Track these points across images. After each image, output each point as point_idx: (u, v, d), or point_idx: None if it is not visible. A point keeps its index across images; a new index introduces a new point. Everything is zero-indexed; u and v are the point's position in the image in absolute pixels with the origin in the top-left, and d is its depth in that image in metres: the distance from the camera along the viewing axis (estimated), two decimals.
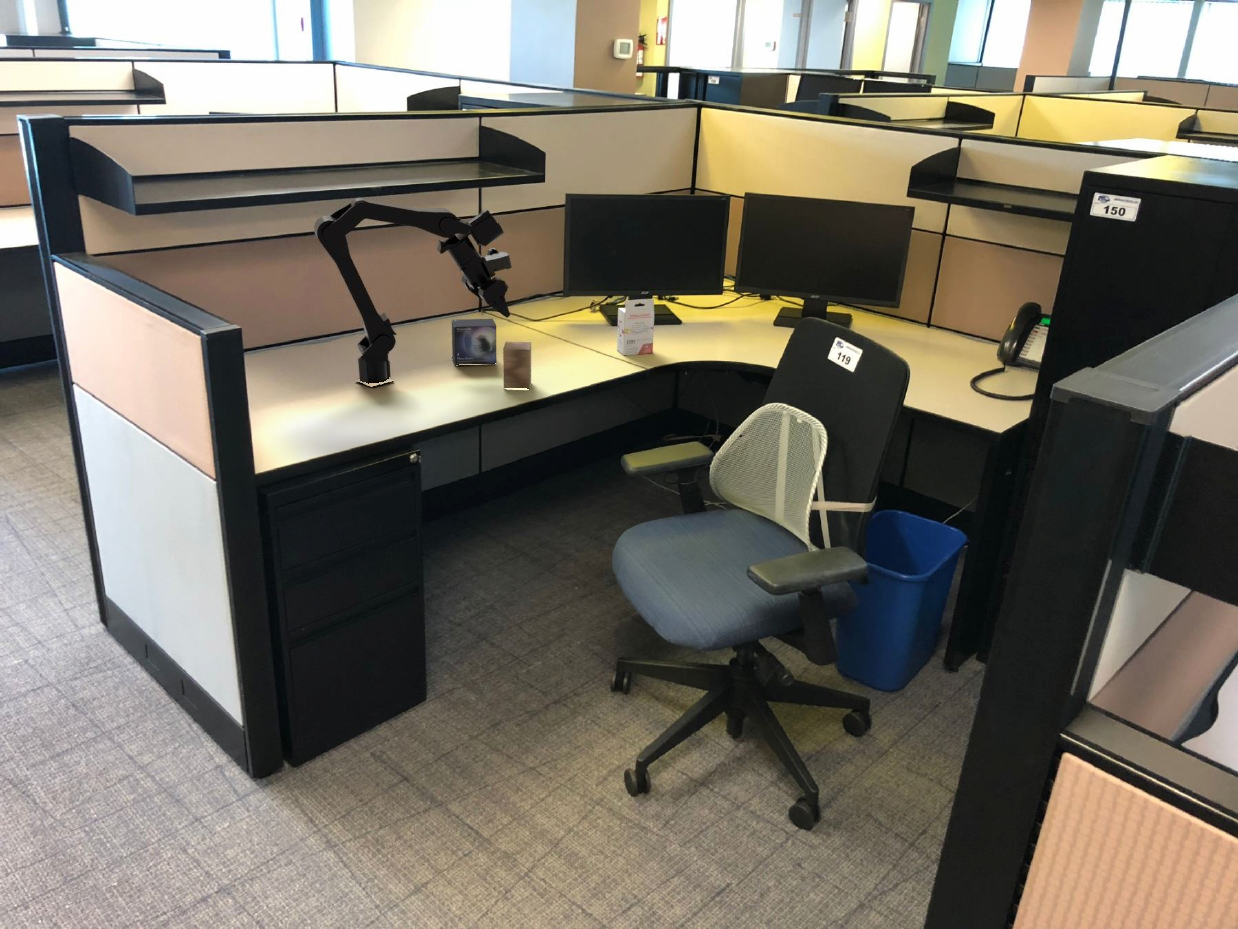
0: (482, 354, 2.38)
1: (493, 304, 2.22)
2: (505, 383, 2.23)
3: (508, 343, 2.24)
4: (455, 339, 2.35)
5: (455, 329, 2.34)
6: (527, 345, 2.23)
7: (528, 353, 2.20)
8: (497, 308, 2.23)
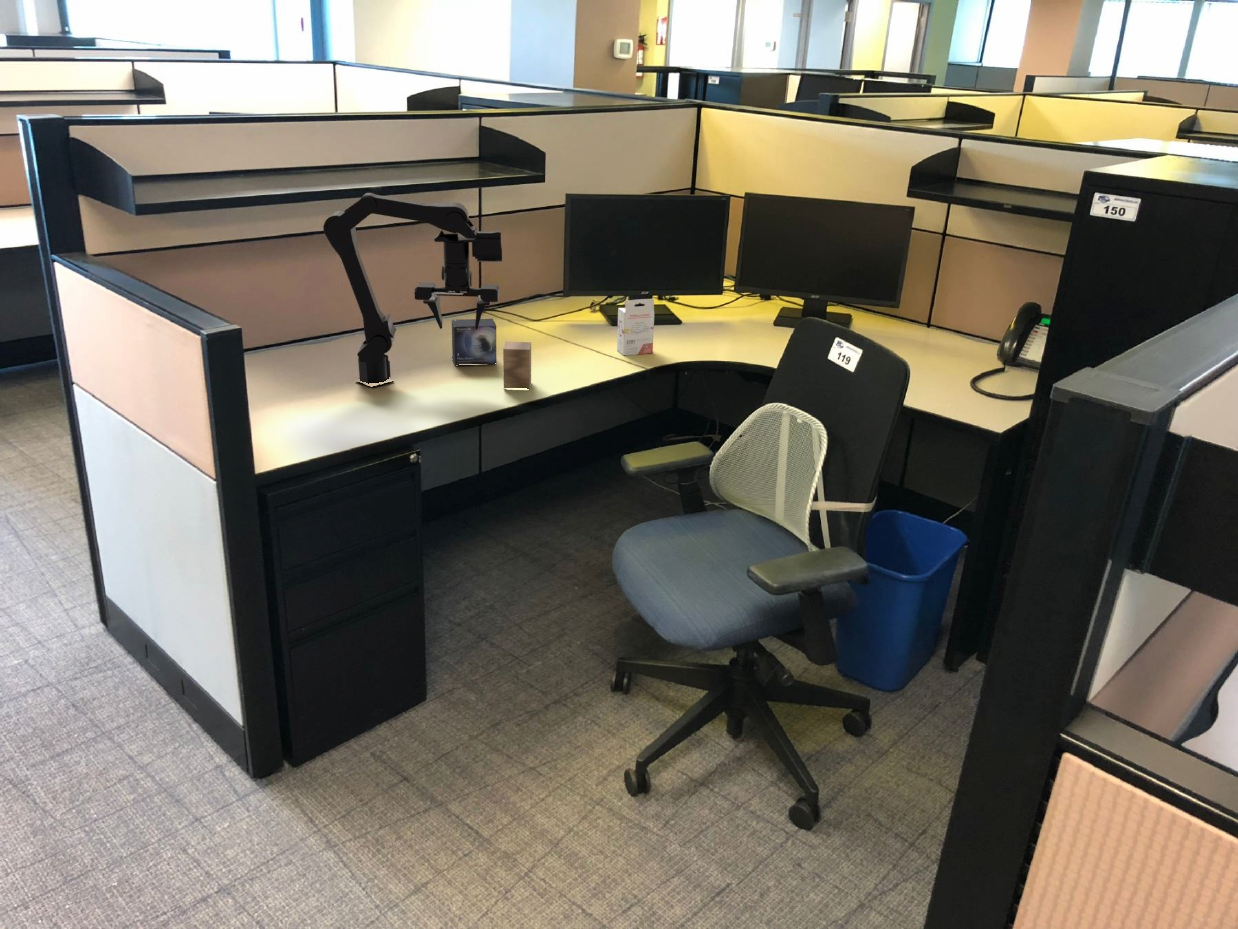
0: (482, 354, 2.38)
1: None
2: (505, 383, 2.23)
3: (508, 343, 2.24)
4: (455, 339, 2.35)
5: (455, 329, 2.34)
6: (527, 345, 2.23)
7: (528, 353, 2.20)
8: (481, 315, 2.20)
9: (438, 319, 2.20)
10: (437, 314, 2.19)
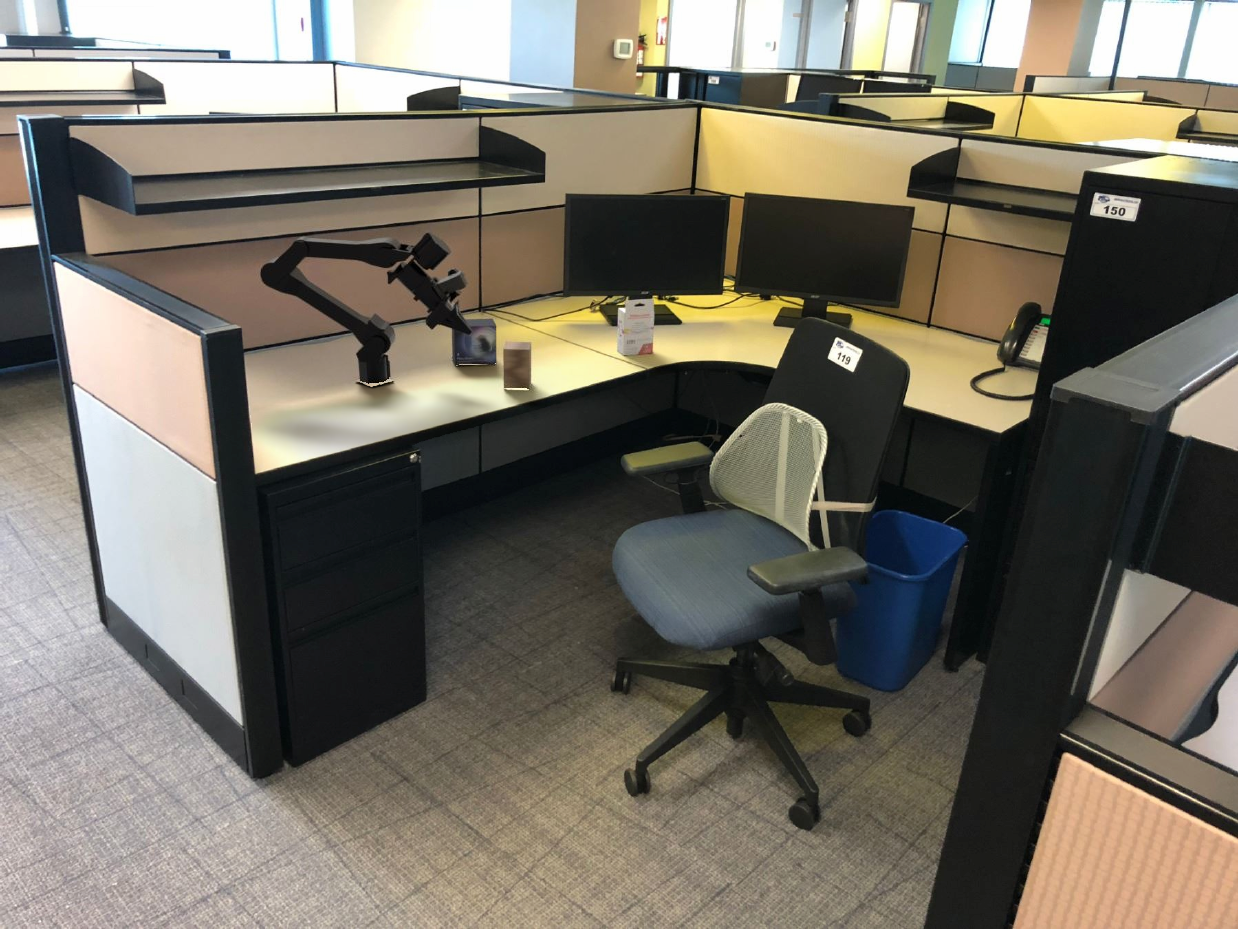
0: (482, 354, 2.38)
1: (447, 324, 2.18)
2: (505, 383, 2.23)
3: (508, 343, 2.24)
4: (455, 339, 2.35)
5: None
6: (527, 345, 2.23)
7: (528, 353, 2.20)
8: (453, 327, 2.19)
9: None
10: None
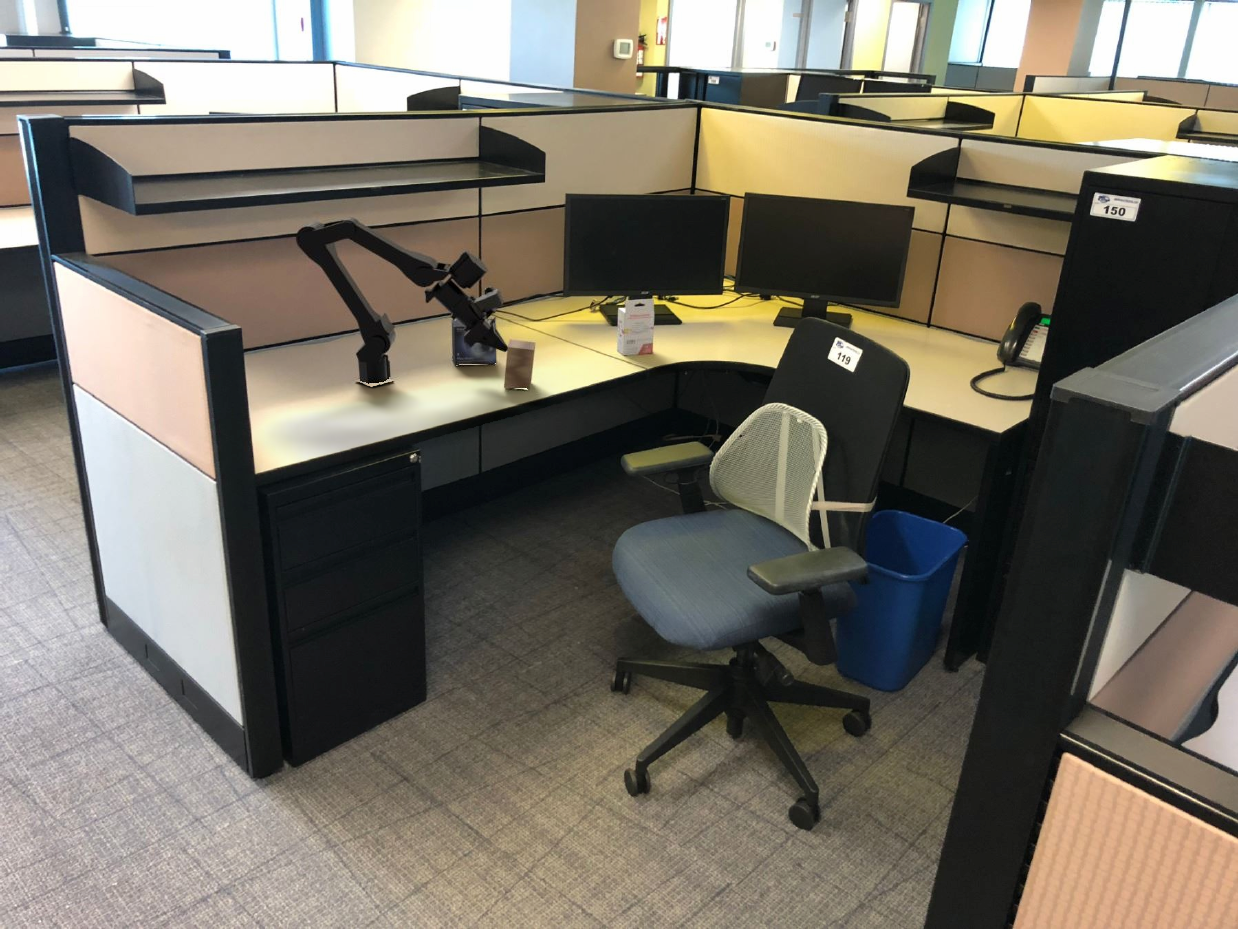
0: (482, 354, 2.38)
1: (484, 341, 2.20)
2: (506, 381, 2.23)
3: (512, 341, 2.23)
4: (455, 339, 2.35)
5: (455, 329, 2.34)
6: (531, 345, 2.23)
7: (532, 353, 2.20)
8: (490, 345, 2.21)
9: None
10: None
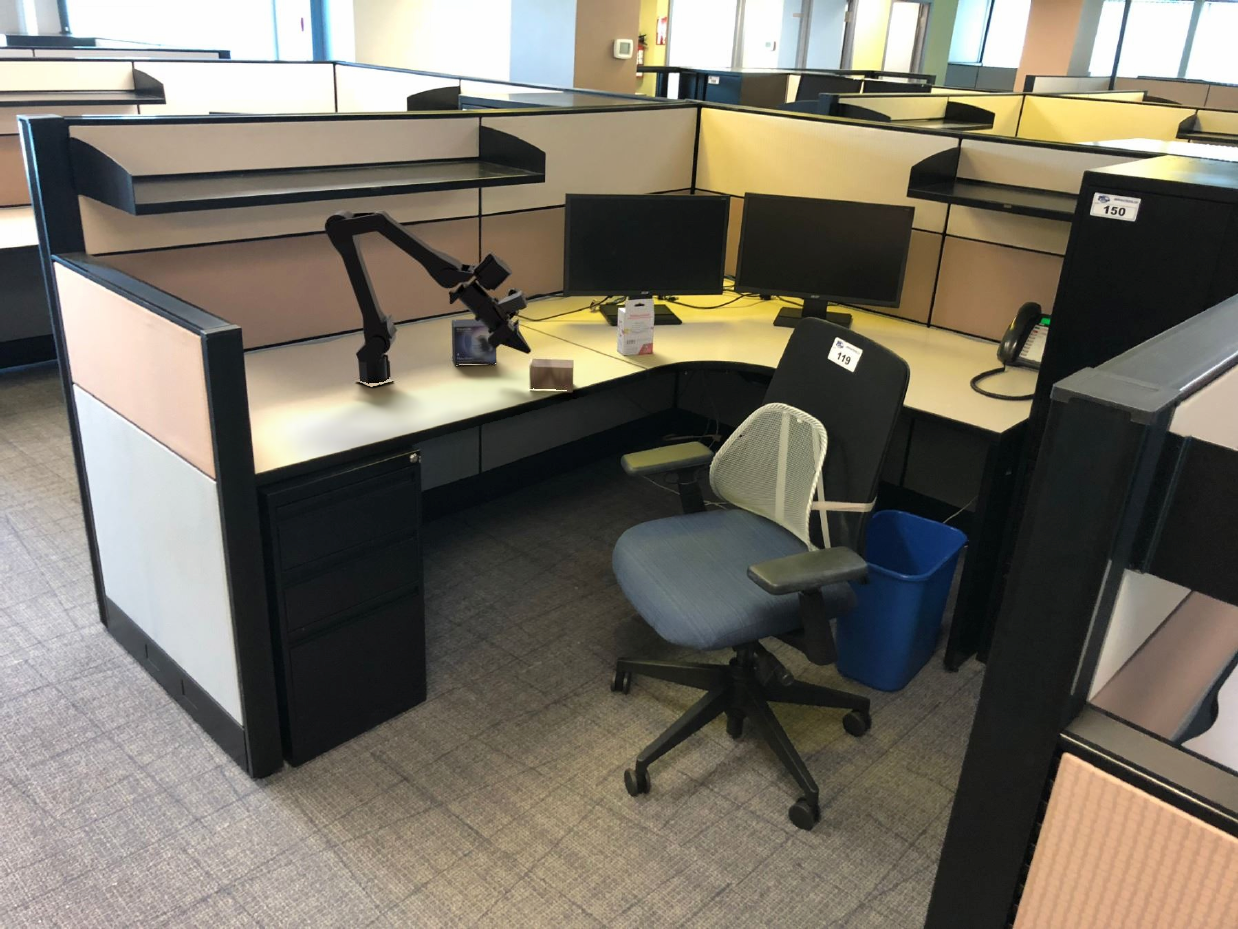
0: (482, 354, 2.38)
1: (508, 343, 2.20)
2: (536, 368, 2.22)
3: None
4: (455, 339, 2.35)
5: (455, 329, 2.34)
6: None
7: None
8: (513, 346, 2.21)
9: None
10: None
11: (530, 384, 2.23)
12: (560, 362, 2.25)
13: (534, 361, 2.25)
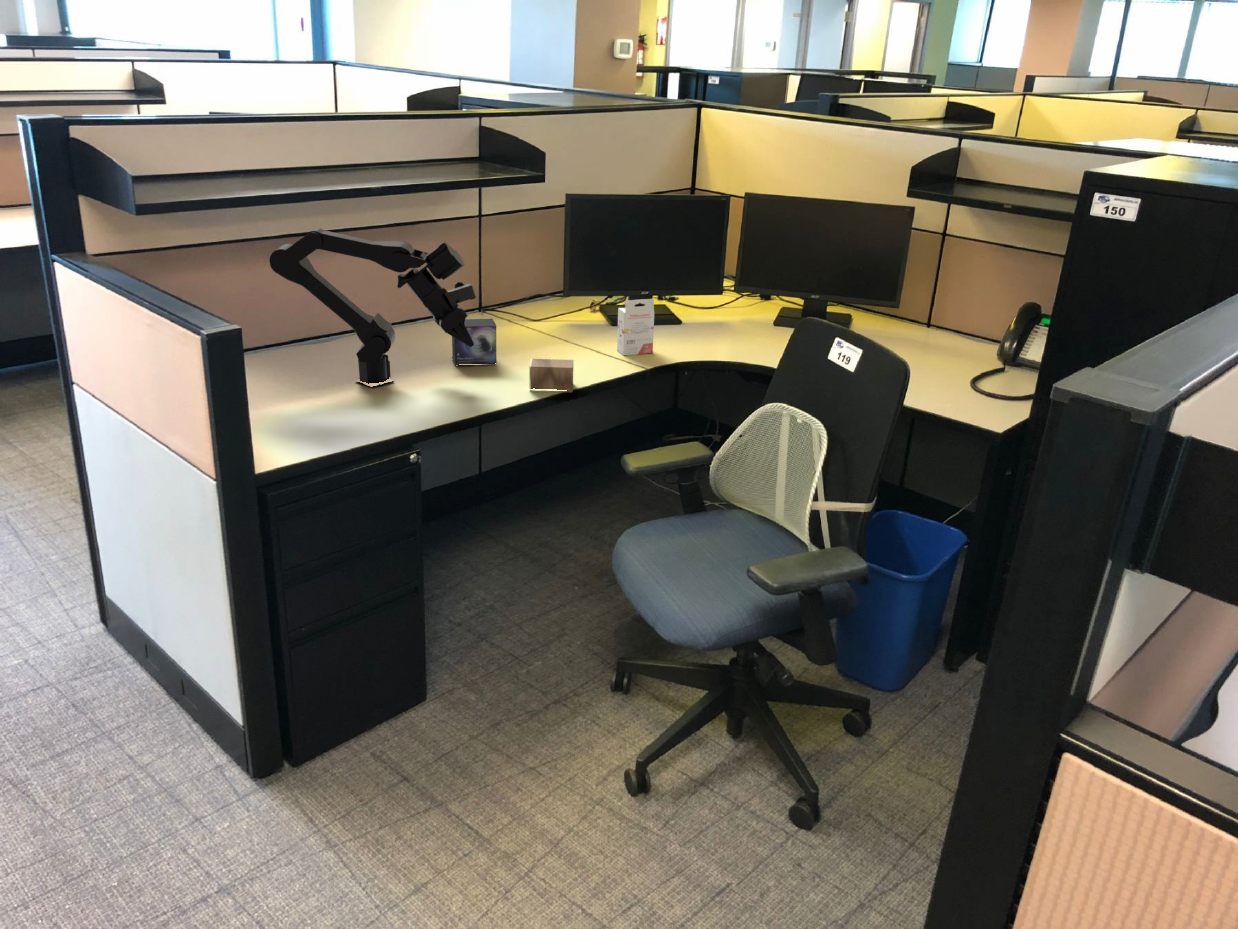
0: (482, 354, 2.38)
1: (453, 333, 2.19)
2: (536, 368, 2.22)
3: None
4: (455, 339, 2.35)
5: None
6: None
7: None
8: (458, 337, 2.20)
9: None
10: None
11: (530, 384, 2.23)
12: (560, 362, 2.25)
13: (534, 361, 2.25)
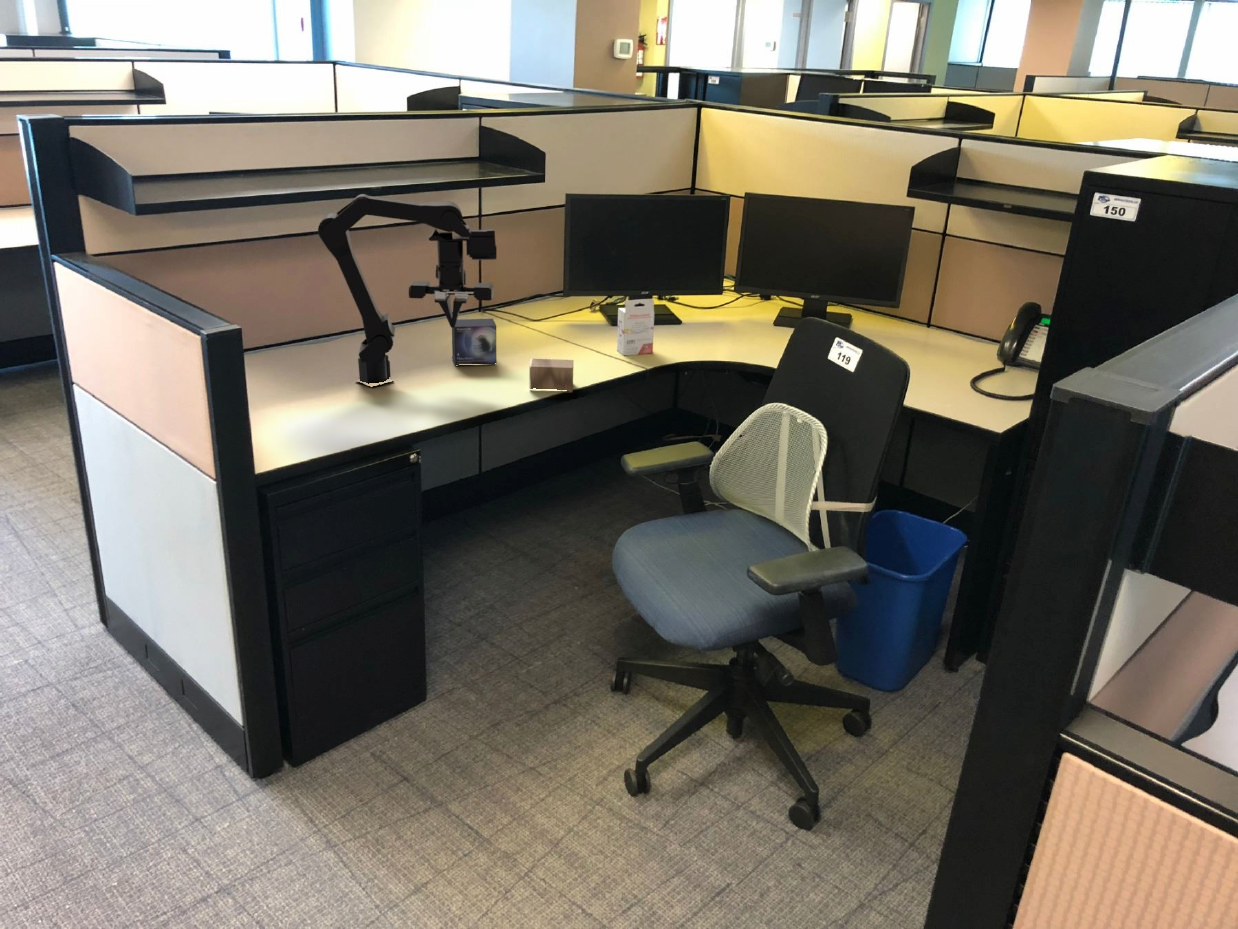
0: (482, 354, 2.38)
1: (459, 307, 2.20)
2: (536, 368, 2.22)
3: None
4: (455, 339, 2.35)
5: (455, 329, 2.34)
6: None
7: None
8: (458, 313, 2.21)
9: (449, 318, 2.21)
10: (448, 313, 2.20)
11: (530, 384, 2.23)
12: (560, 362, 2.25)
13: (534, 361, 2.25)
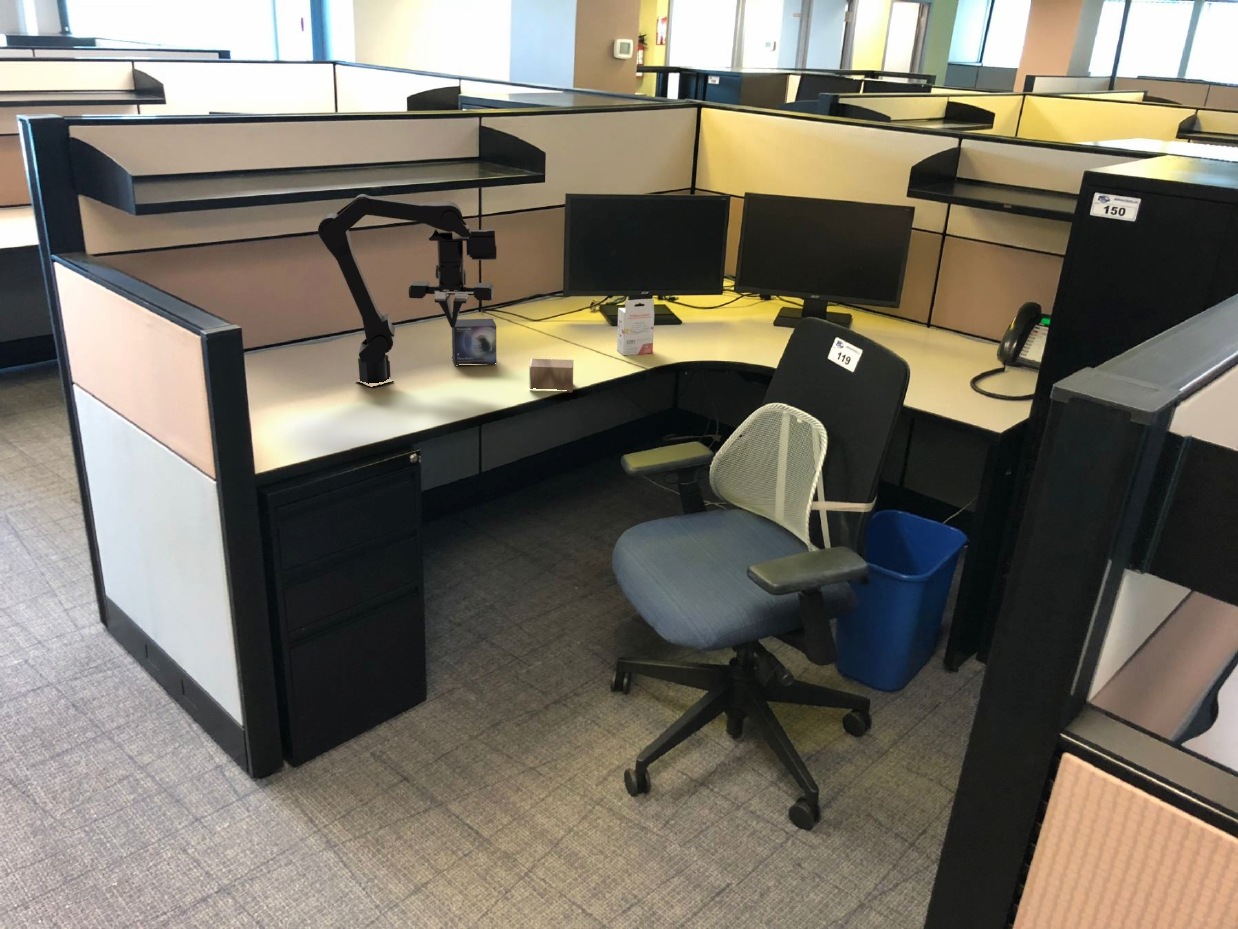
0: (482, 354, 2.38)
1: (459, 307, 2.20)
2: (536, 368, 2.22)
3: None
4: (455, 339, 2.35)
5: (455, 329, 2.34)
6: None
7: None
8: (458, 313, 2.21)
9: (449, 318, 2.21)
10: (448, 313, 2.20)
11: (530, 384, 2.23)
12: (560, 362, 2.25)
13: (534, 361, 2.25)
